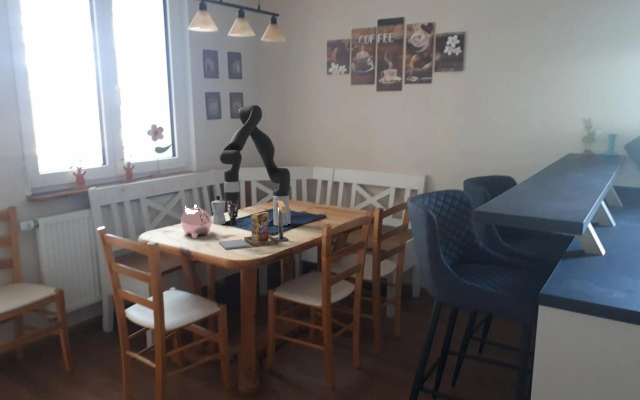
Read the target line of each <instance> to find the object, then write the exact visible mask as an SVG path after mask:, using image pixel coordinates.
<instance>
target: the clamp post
mask: <svg viewBox="0 0 640 400" xmlns="http://www.w3.org/2000/svg"><path fill="white" fill-rule="evenodd" d="M277 230H278V236H277V237H274V238H275V239H277V241H278V243H280V242H281V243H282V242H287V241H289V238H288V237H286V236H284V226H283V213H282V212H281V210H280V209H279V207H278V229H277Z"/></svg>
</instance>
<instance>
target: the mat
mask: <svg viewBox="0 0 640 400" xmlns="http://www.w3.org/2000/svg"><path fill="white" fill-rule="evenodd" d="M218 244H219V245H220V246H221V247H222V249H224V250H226V251H227V250H237V249H244V248H250V245H249V244H248V243H246V242H245V241H244V239H241V238H240V239H230V240H222V241H221V240H220V241H218Z"/></svg>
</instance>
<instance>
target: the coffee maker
mask: <svg viewBox="0 0 640 400" xmlns="http://www.w3.org/2000/svg"><path fill="white" fill-rule="evenodd" d="M215 197H216V199H215V200H213V201H211V202H210V204H211V205H210V206H211V210H212V214H213V215H212V219H211V220H212V224H213V225H224V224H226V223H227V220H226V215H225V211H226V207H227V204H228V203H227V201H226V200H225V199H221V195H216V196H215Z"/></svg>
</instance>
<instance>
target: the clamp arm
mask: <svg viewBox="0 0 640 400" xmlns="http://www.w3.org/2000/svg"><path fill="white" fill-rule="evenodd" d="M277 207H279V209H280V210H281V212H282V213H286V206H285V204H284V203H283V200H277Z"/></svg>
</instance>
